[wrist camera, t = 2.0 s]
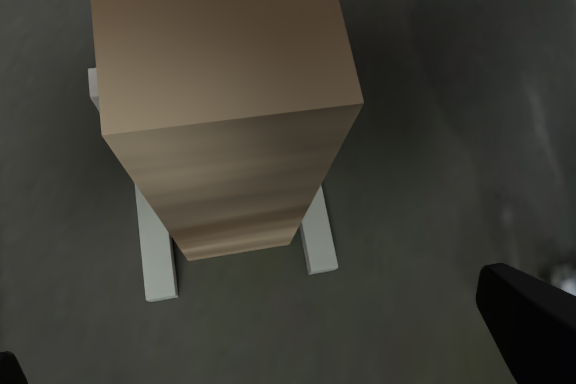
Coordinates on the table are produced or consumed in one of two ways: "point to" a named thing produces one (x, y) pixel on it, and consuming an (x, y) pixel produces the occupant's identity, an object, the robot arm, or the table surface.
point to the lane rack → (160, 247)
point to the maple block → (225, 111)
